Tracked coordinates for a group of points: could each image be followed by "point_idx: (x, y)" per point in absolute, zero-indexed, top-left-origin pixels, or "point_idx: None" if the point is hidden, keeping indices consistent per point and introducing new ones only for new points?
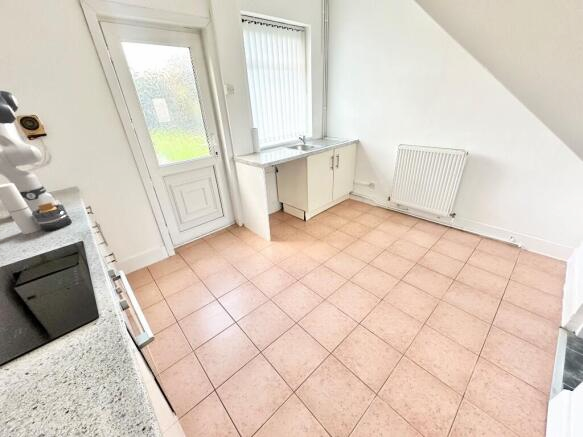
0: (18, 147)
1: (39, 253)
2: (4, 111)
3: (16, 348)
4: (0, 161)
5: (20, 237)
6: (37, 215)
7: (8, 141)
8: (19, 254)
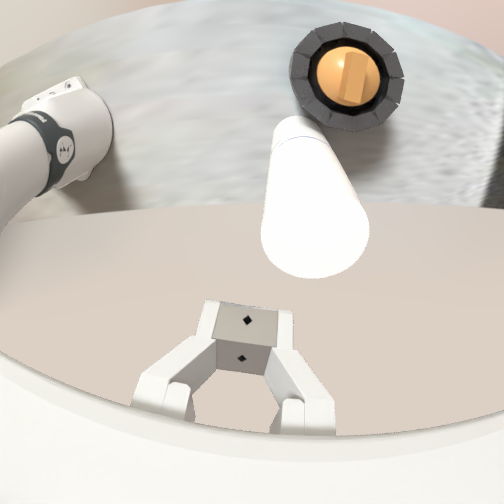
0: None
1: (491, 154)
2: None
3: None
4: (232, 325)
5: None
6: (384, 118)
7: None
8: (457, 183)
